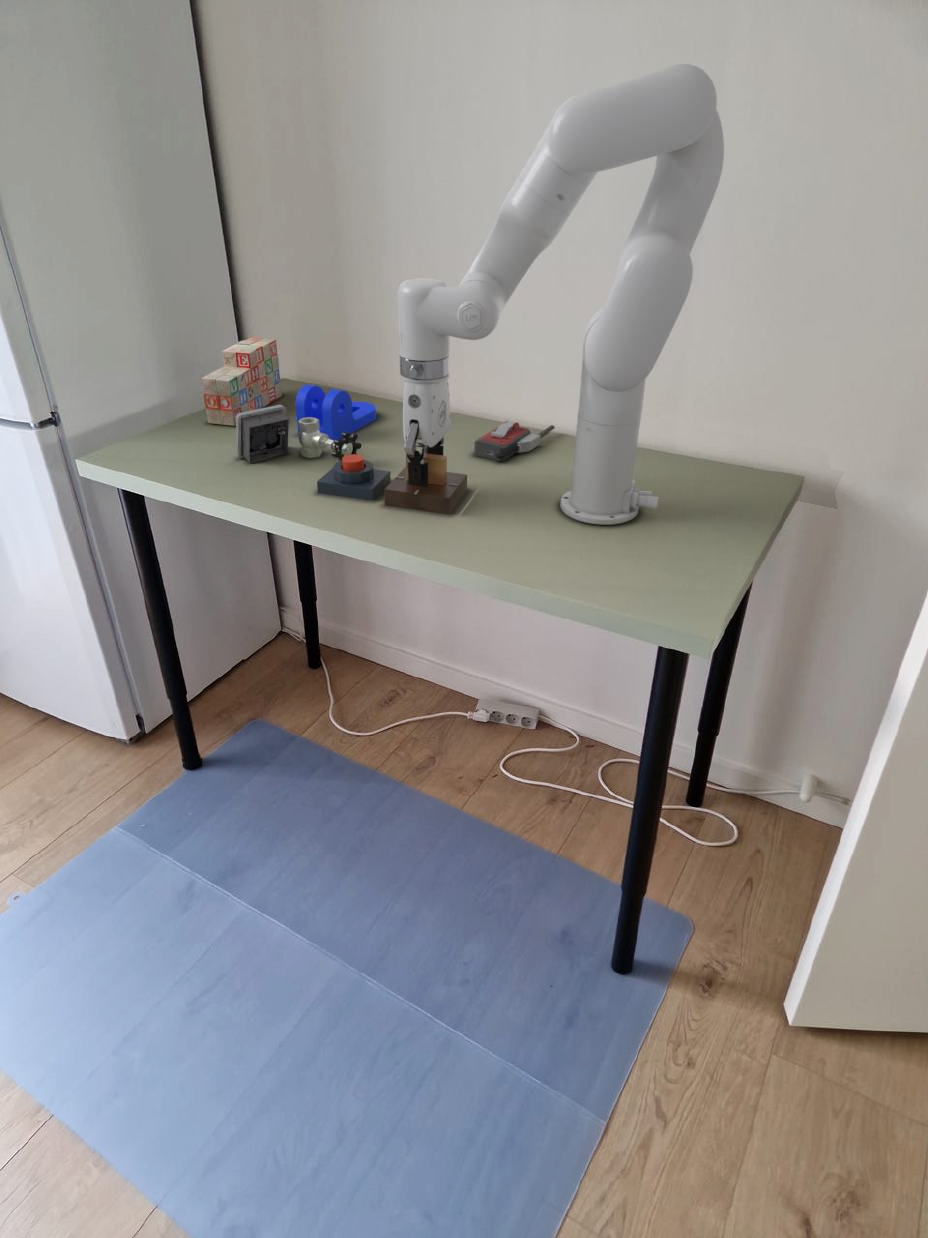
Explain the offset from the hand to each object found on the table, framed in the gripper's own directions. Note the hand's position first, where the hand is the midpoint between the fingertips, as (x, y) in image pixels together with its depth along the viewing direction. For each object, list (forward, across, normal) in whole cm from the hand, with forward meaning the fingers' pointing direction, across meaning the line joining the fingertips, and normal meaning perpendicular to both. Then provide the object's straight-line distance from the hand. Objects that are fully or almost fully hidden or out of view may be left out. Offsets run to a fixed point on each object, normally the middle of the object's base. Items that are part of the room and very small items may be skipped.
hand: (426, 475), depth 133 cm
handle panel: (+4, 0, 0) cm, 4 cm away
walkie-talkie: (+4, +28, -8) cm, 29 cm away
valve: (+4, +10, +23) cm, 25 cm away
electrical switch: (+4, +8, +34) cm, 35 cm away
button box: (+4, 0, +13) cm, 14 cm away
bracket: (+4, +28, +28) cm, 40 cm away
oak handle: (+1, 0, 0) cm, 1 cm away
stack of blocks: (+4, +30, +51) cm, 60 cm away
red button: (0, 0, +13) cm, 13 cm away
